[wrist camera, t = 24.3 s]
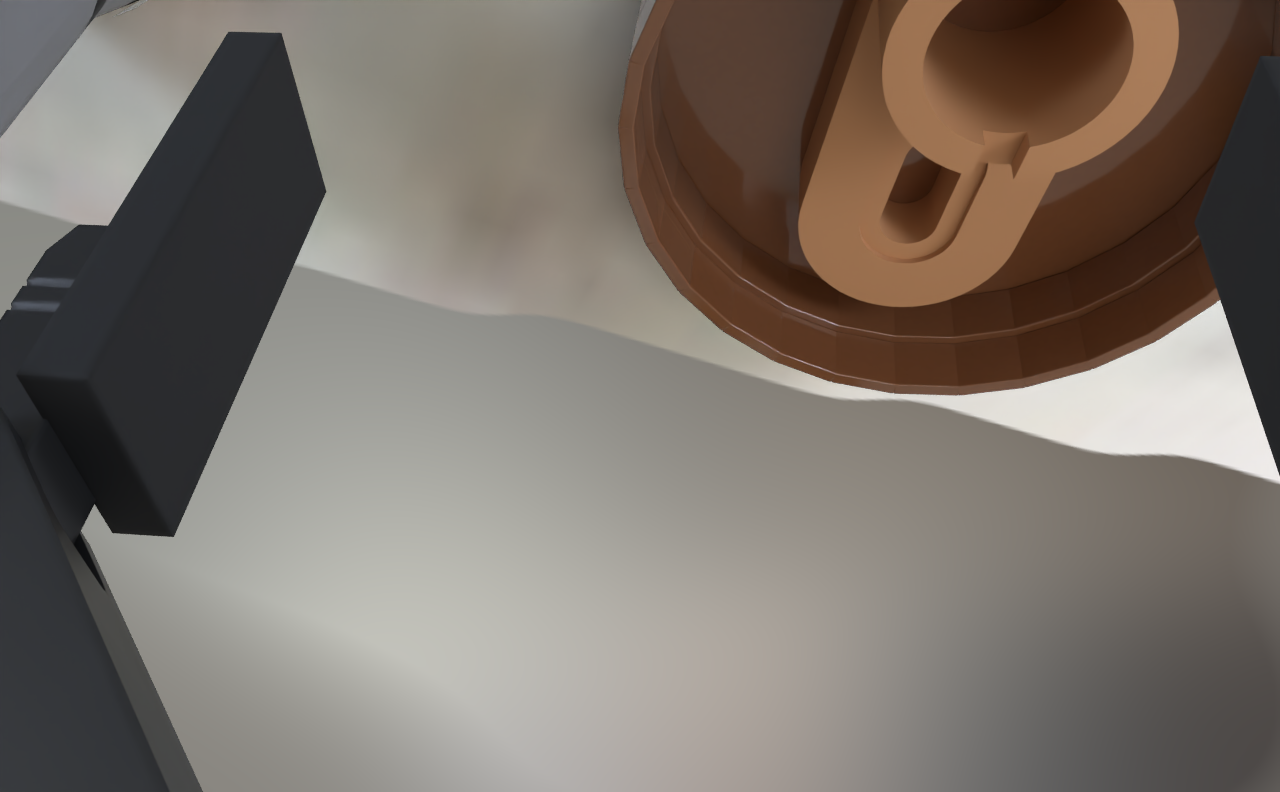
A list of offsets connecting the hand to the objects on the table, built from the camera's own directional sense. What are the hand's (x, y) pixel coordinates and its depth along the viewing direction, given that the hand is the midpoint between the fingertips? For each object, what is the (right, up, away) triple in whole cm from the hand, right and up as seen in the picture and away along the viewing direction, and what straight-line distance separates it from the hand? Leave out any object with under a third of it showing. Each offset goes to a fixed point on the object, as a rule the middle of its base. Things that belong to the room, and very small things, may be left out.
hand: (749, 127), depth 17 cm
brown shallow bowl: (+10, +8, +27) cm, 30 cm away
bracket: (+10, +8, +27) cm, 29 cm away
